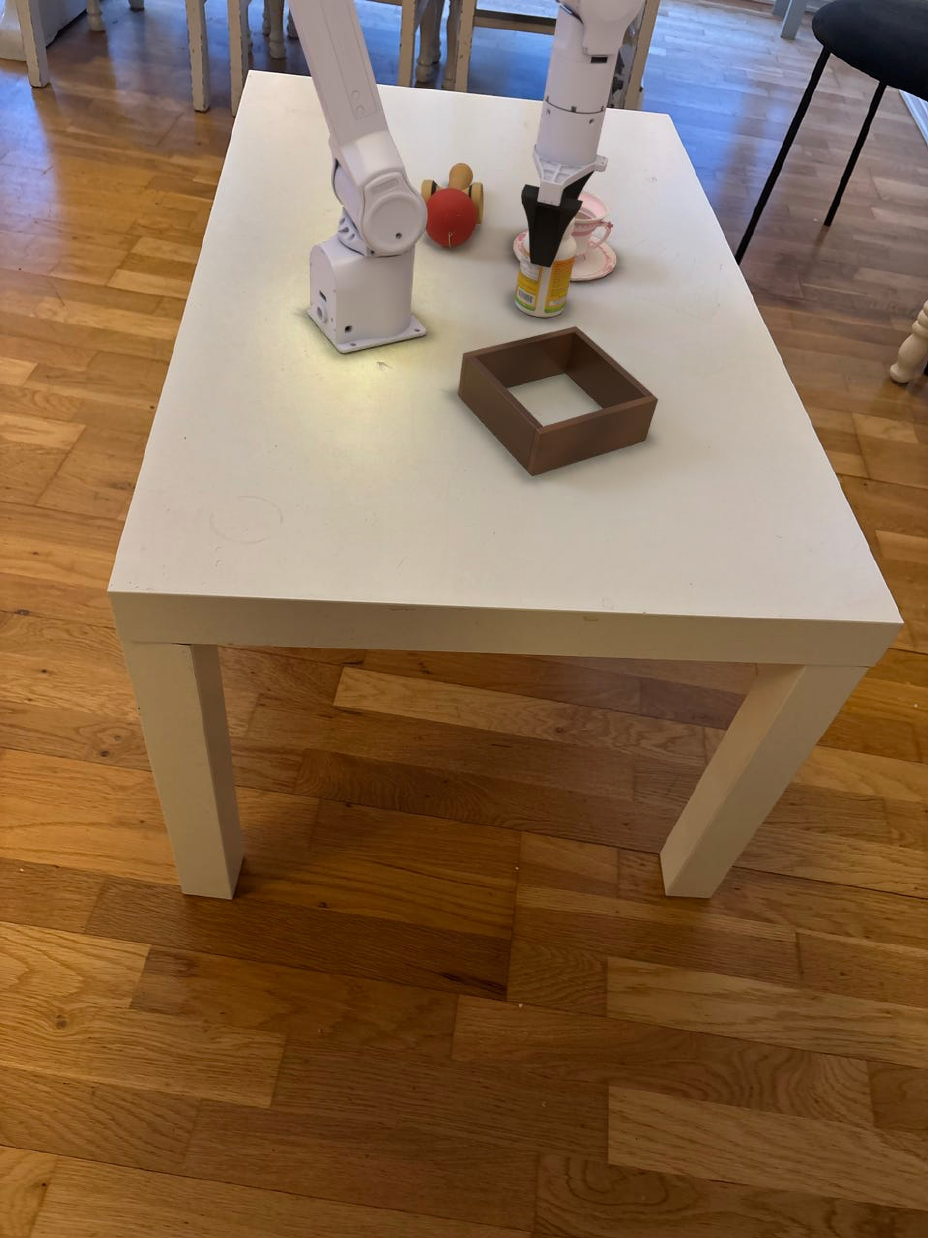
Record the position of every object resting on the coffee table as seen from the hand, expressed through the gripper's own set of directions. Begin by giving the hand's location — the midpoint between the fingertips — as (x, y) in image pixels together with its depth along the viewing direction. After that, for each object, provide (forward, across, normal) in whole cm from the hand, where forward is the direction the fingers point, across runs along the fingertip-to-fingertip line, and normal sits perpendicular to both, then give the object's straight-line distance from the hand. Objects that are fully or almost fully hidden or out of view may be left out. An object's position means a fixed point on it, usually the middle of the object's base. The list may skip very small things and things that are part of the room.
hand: (547, 246), depth 92 cm
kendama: (+7, +15, +13) cm, 21 cm away
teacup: (+7, +12, -1) cm, 14 cm away
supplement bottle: (+7, 0, 0) cm, 7 cm away
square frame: (+6, -19, -5) cm, 21 cm away
